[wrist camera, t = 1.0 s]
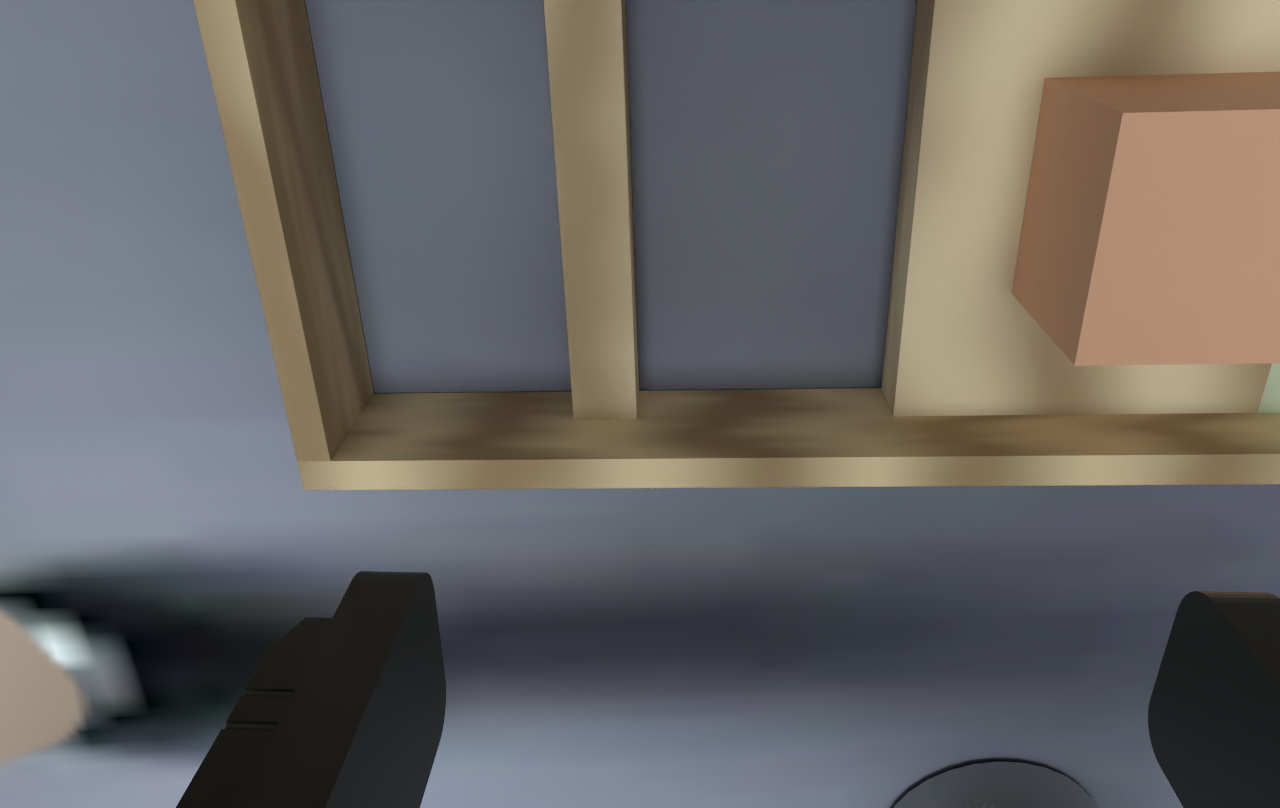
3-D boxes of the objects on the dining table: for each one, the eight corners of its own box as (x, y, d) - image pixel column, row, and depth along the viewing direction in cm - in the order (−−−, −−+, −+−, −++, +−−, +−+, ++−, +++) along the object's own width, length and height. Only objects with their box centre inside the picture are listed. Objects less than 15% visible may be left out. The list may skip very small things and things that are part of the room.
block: (1280, 71, 25) (1411, 105, 20) (1224, 290, 28) (1328, 362, 23) (1044, 78, 25) (1122, 113, 21) (1011, 293, 28) (1074, 365, 23)
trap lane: (1831, -167, 24) (2065, -184, 20) (1566, 408, 31) (1698, 481, 27) (248, -107, 26) (168, -112, 22) (349, 419, 33) (303, 489, 29)
